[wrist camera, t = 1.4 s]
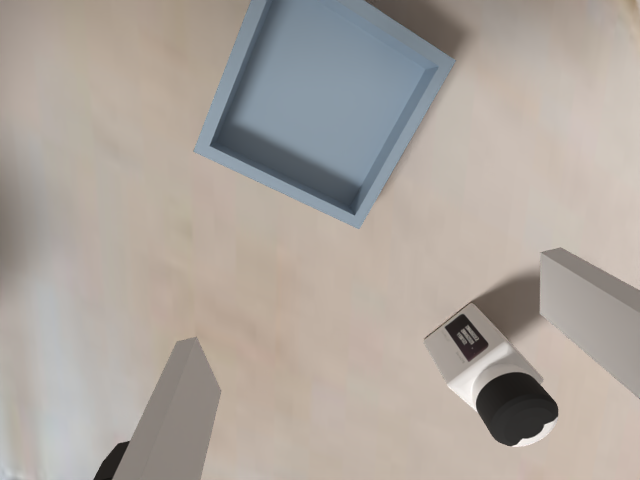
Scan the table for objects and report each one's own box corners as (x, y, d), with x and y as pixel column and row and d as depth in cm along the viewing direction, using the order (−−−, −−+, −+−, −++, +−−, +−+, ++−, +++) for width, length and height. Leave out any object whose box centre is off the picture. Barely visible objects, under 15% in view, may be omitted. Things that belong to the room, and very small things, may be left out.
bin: (203, 145, 33) (193, 151, 29) (275, -38, 28) (273, -59, 24) (351, 216, 37) (359, 229, 33) (436, 65, 32) (455, 60, 28)
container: (421, 340, 44) (472, 431, 31) (470, 300, 42) (544, 381, 30) (456, 372, 46) (516, 469, 34) (504, 336, 44) (585, 424, 32)
